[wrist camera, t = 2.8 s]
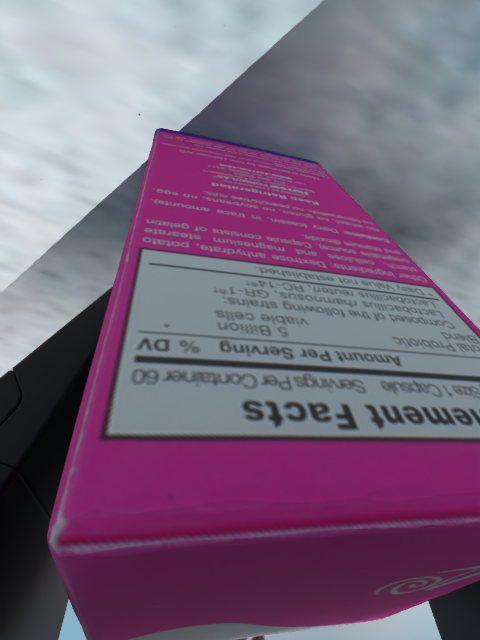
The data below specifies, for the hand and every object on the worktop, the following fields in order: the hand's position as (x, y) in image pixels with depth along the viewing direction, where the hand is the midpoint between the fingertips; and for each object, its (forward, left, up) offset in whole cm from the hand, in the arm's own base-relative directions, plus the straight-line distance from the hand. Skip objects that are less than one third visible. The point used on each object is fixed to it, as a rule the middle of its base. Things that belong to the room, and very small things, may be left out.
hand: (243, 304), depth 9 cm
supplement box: (0, 0, -5) cm, 5 cm away
